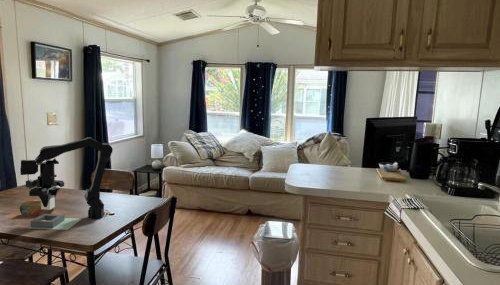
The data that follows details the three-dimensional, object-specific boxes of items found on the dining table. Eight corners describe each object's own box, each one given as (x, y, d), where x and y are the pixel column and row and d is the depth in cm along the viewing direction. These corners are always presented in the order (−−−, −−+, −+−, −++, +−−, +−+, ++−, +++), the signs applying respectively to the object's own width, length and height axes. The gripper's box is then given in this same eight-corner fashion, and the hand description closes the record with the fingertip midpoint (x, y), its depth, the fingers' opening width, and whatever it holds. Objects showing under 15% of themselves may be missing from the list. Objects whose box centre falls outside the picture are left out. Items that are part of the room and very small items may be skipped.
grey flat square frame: (64, 220, 157) (64, 214, 156) (53, 228, 147) (52, 221, 146) (43, 219, 156) (43, 213, 156) (30, 227, 146) (30, 220, 146)
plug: (54, 206, 153) (54, 194, 152) (49, 209, 149) (49, 196, 148) (46, 206, 152) (46, 194, 152) (41, 209, 148) (40, 196, 148)
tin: (19, 217, 159) (19, 201, 158) (22, 215, 162) (21, 199, 161) (53, 216, 163) (53, 200, 162) (55, 214, 166) (55, 198, 165)
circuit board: (81, 220, 160) (81, 218, 160) (67, 231, 146) (67, 229, 146) (45, 218, 159) (45, 217, 159) (27, 229, 145) (27, 228, 145)
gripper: (41, 168, 157) (42, 198, 159) (16, 177, 139) (17, 211, 141) (64, 169, 158) (65, 199, 160) (42, 178, 139) (42, 212, 141)
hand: (48, 205), depth 150 cm, fingers closed on plug, 4 cm apart
